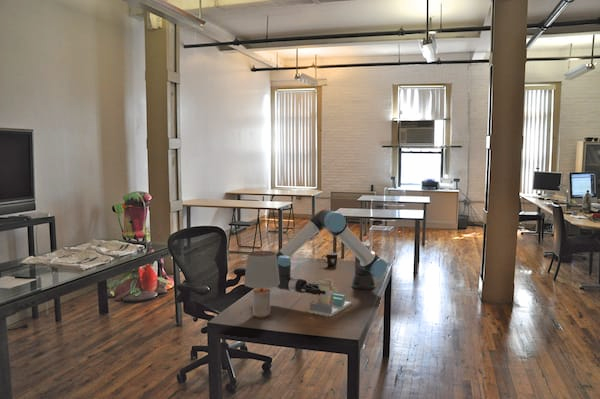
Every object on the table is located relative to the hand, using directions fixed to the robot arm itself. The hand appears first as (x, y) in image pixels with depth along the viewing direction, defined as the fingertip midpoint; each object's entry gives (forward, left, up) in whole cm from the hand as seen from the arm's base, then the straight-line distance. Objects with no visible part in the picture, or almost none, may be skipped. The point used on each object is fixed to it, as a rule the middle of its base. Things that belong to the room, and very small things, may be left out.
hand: (334, 291), depth 265 cm
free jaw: (-1, -12, -10) cm, 16 cm away
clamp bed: (+2, -7, -12) cm, 14 cm away
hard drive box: (-26, -98, -12) cm, 102 cm away
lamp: (+39, +7, -12) cm, 41 cm away
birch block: (+4, -3, -8) cm, 10 cm away
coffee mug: (-1, -108, -12) cm, 108 cm away
